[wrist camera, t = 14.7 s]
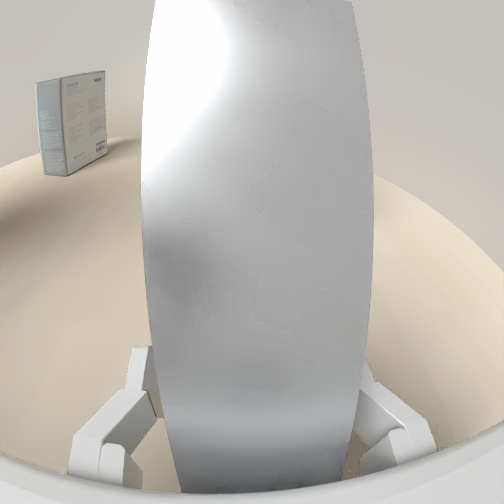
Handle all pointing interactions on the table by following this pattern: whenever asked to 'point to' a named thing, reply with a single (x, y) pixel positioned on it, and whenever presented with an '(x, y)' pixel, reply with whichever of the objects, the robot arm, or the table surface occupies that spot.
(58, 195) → the table surface
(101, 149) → the hard drive box
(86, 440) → the robot arm
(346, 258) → the link bar
